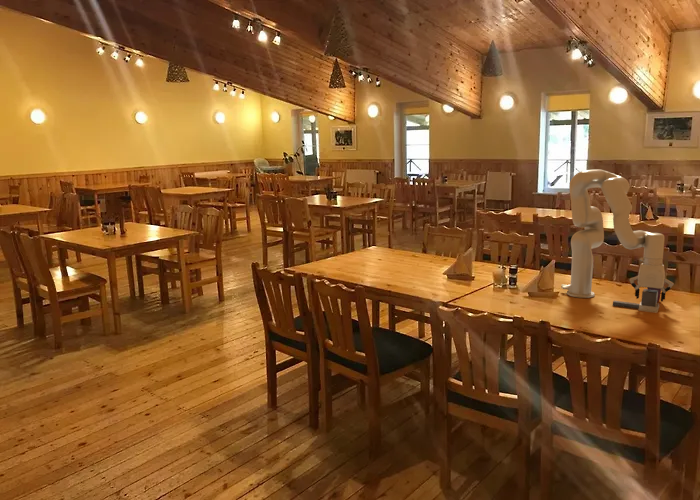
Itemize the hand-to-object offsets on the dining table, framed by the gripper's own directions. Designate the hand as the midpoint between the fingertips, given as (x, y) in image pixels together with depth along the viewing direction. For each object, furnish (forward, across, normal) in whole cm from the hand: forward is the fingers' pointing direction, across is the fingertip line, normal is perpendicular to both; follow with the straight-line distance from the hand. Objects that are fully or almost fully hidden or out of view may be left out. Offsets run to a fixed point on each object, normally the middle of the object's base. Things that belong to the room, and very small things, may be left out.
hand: (649, 299), depth 258 cm
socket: (+2, 0, 0) cm, 2 cm away
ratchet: (+5, -5, 0) cm, 7 cm away
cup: (+5, 0, +17) cm, 18 cm away
